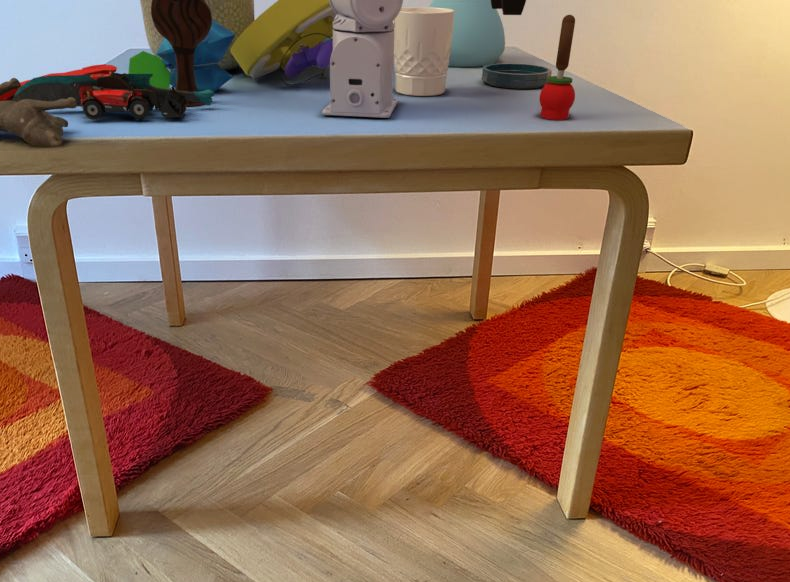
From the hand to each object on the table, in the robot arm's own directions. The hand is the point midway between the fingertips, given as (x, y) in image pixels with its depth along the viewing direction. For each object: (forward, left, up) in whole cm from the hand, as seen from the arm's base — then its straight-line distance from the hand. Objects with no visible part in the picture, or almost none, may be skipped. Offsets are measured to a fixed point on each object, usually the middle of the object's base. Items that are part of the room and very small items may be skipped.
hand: (505, 11), depth 85 cm
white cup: (+4, +10, -10) cm, 15 cm away
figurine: (-9, +38, -10) cm, 41 cm away
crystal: (-2, +39, -10) cm, 41 cm away
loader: (-19, +42, -10) cm, 47 cm away
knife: (-17, +45, -6) cm, 49 cm away
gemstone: (-7, +44, -8) cm, 45 cm away
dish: (+13, -3, -10) cm, 17 cm away
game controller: (+6, +25, -10) cm, 27 cm away
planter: (+14, +45, -10) cm, 48 cm away
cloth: (-7, +56, -8) cm, 57 cm away
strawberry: (-8, -7, -10) cm, 15 cm away
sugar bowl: (+32, +6, -10) cm, 34 cm away
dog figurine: (-26, +48, -8) cm, 55 cm away
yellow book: (+10, +31, -2) cm, 33 cm away
